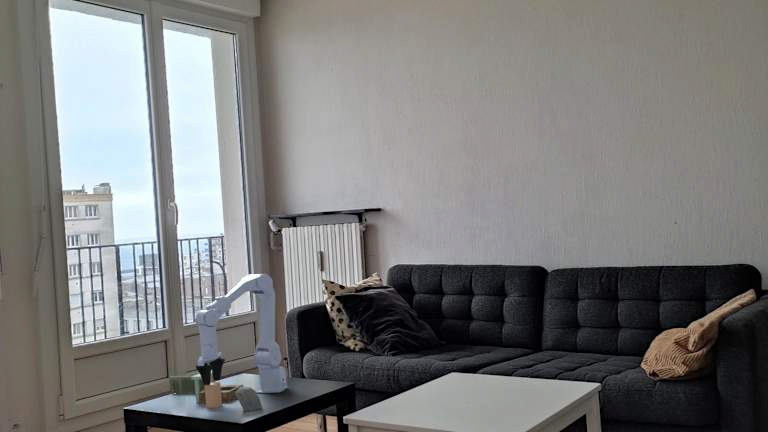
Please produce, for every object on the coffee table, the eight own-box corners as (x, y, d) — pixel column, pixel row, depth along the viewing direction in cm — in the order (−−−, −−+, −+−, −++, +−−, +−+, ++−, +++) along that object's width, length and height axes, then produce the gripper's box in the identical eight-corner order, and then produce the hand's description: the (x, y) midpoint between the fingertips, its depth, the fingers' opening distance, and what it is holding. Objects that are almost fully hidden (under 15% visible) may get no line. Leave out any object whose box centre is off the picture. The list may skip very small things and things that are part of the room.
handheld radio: (174, 392, 312) (230, 391, 304) (169, 394, 309) (225, 393, 301) (172, 375, 312) (228, 374, 304) (167, 377, 309) (223, 376, 301)
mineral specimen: (244, 404, 275) (246, 381, 275) (263, 411, 271) (266, 388, 270) (229, 409, 269) (232, 386, 268) (249, 416, 265) (251, 392, 264)
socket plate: (243, 393, 296) (243, 384, 296) (229, 401, 285) (228, 392, 285) (214, 394, 299) (213, 385, 299) (199, 402, 288) (198, 393, 288)
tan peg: (222, 404, 281) (220, 382, 281) (216, 407, 277) (214, 384, 277) (211, 405, 282) (209, 382, 282) (206, 408, 278) (204, 385, 278)
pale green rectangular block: (222, 394, 299) (220, 369, 299) (206, 402, 286) (203, 376, 286) (210, 394, 300) (208, 369, 300) (193, 403, 288) (191, 376, 288)
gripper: (208, 340, 288) (211, 378, 287) (188, 348, 273) (191, 387, 273) (226, 340, 286) (229, 377, 286) (207, 347, 272) (210, 386, 272)
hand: (212, 382), depth 279 cm, fingers open, 7 cm apart
